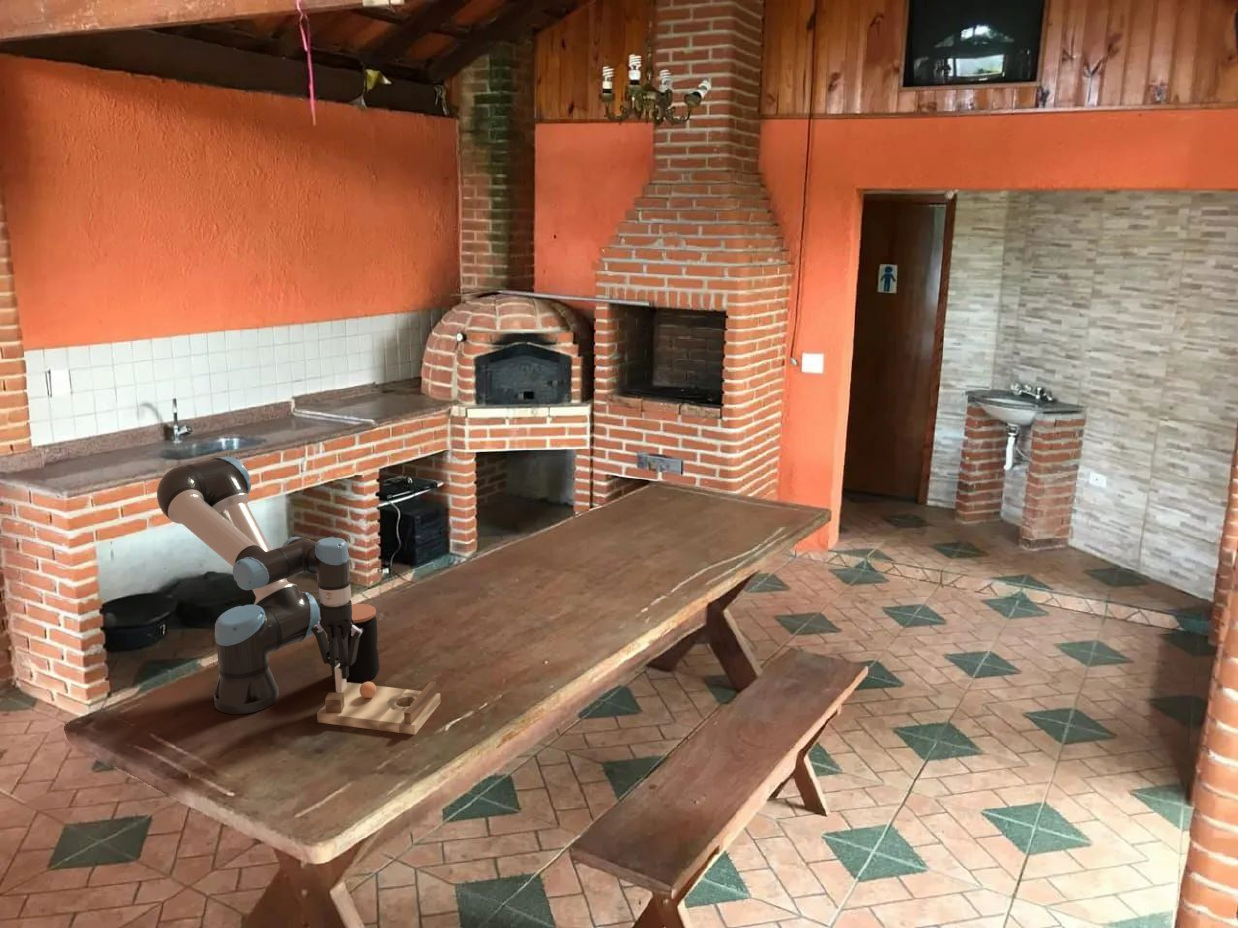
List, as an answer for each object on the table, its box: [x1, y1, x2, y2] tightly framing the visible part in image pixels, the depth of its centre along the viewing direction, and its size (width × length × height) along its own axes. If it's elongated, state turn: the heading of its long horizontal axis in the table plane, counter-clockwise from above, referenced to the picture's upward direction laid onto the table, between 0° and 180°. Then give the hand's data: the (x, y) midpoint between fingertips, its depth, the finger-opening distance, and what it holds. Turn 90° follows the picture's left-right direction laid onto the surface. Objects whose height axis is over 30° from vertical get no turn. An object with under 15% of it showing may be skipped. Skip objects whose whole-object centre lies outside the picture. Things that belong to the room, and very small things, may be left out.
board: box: [316, 680, 442, 736], centre depth 248 cm, size 25×16×6 cm, turn 78°
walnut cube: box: [324, 691, 344, 713], centre depth 244 cm, size 4×4×4 cm
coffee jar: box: [338, 603, 380, 684], centre depth 265 cm, size 11×11×18 cm
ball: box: [360, 681, 377, 698], centre depth 250 cm, size 4×4×4 cm
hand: (341, 689), depth 251 cm, fingers closed
